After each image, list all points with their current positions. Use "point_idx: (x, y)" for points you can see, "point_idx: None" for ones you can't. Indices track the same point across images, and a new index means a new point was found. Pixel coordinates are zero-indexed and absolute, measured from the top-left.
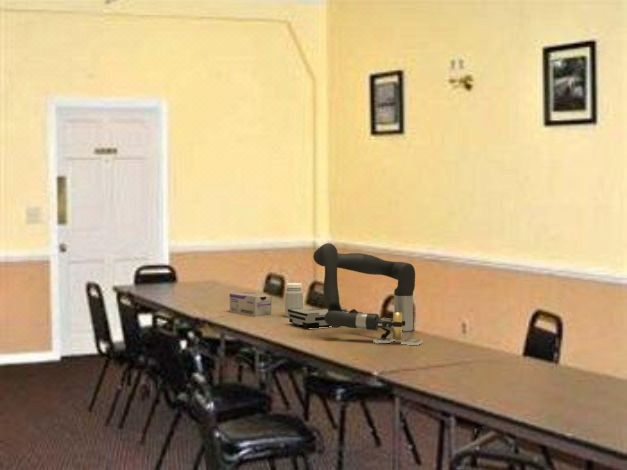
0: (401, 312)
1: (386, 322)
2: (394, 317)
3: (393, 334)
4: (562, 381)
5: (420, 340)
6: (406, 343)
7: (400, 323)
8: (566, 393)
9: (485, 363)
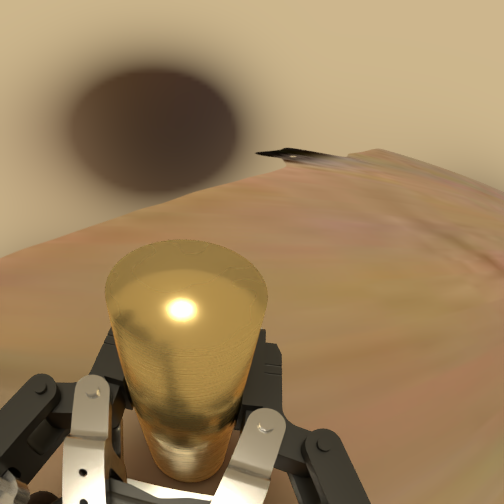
0: (157, 246)
1: (356, 478)
2: (245, 374)
3: (214, 465)
4: (430, 175)
5: None
6: None
7: (266, 344)
8: (466, 186)
9: (408, 205)
